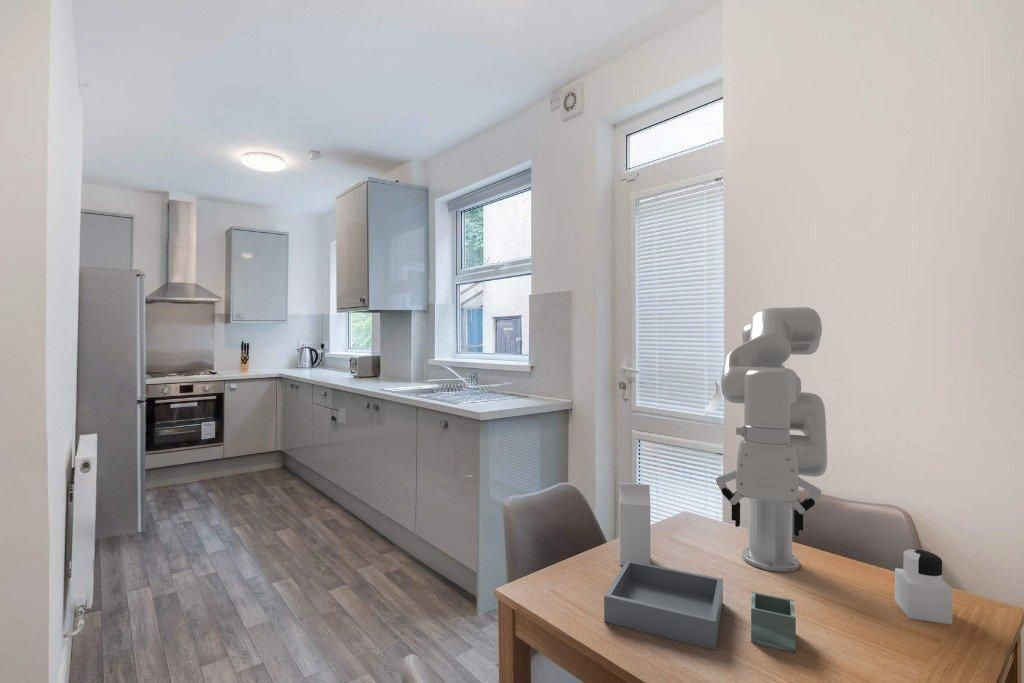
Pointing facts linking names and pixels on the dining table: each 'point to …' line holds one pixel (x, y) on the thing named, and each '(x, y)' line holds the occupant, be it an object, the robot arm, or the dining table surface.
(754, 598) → the teal crate
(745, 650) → the dining table surface
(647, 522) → the milk carton
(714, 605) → the charcoal crate
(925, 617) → the medicine bottle
